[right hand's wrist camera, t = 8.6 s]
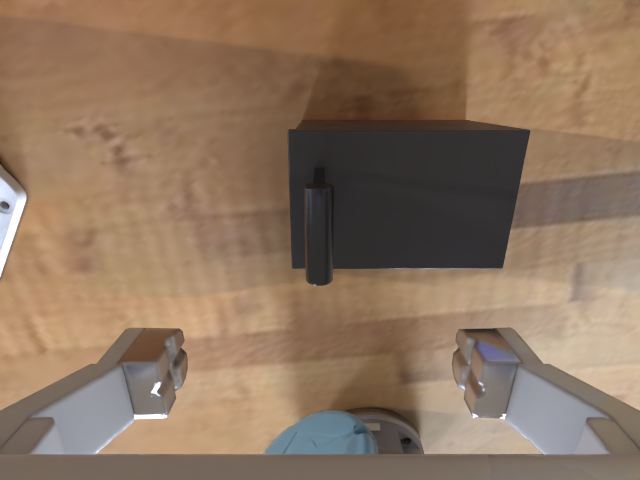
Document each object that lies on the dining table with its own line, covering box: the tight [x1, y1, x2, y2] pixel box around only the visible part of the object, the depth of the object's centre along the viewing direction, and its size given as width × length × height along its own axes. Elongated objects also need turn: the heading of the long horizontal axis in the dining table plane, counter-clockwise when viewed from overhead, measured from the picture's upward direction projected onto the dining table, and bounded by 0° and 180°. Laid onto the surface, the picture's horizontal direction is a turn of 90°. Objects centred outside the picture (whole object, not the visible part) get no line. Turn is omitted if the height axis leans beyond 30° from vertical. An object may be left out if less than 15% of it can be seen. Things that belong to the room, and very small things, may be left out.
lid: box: [288, 129, 530, 286], centre depth 23 cm, size 16×10×8 cm, turn 90°
